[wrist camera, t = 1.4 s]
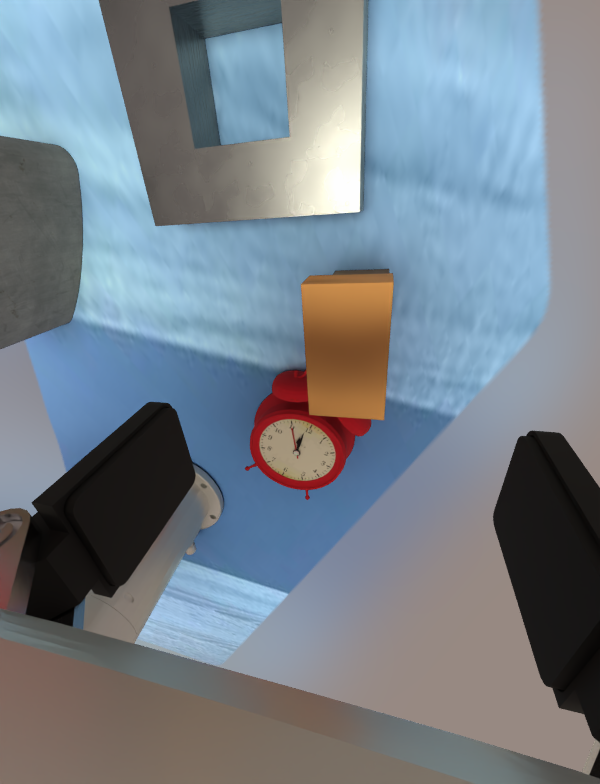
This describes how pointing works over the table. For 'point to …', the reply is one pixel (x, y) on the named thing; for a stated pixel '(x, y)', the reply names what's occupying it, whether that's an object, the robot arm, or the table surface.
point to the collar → (198, 117)
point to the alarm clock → (300, 437)
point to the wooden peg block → (347, 342)
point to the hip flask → (38, 238)
